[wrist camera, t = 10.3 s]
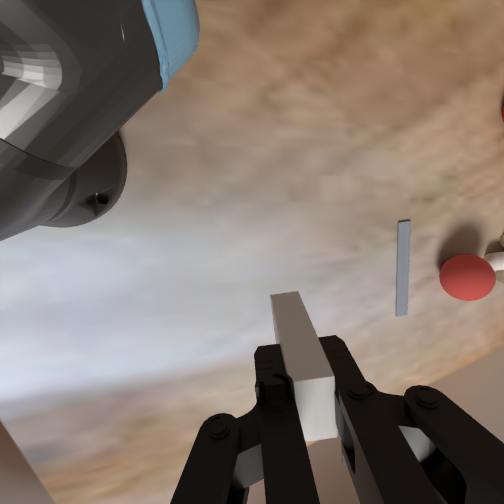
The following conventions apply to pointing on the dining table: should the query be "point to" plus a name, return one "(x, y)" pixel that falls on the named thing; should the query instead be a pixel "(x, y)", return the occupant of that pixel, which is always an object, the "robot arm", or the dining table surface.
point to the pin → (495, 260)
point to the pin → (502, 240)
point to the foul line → (402, 267)
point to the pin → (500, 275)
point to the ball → (467, 277)
